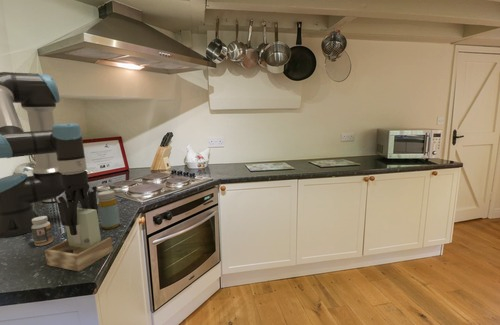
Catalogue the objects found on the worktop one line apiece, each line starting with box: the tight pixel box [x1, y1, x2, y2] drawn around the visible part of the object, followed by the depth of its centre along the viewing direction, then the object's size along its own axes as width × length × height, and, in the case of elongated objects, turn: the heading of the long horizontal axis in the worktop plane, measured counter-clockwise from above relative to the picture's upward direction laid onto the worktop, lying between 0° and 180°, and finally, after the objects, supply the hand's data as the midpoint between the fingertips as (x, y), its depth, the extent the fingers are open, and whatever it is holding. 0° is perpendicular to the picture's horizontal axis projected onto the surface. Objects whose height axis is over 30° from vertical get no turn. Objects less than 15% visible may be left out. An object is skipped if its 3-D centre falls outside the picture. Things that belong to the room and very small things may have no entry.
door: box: [65, 207, 102, 248], centre depth 91 cm, size 10×5×12 cm, turn 71°
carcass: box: [43, 236, 114, 272], centre depth 91 cm, size 14×13×5 cm
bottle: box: [97, 189, 121, 230], centre depth 116 cm, size 7×7×15 cm
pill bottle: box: [31, 215, 54, 247], centre depth 103 cm, size 6×6×10 cm
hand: (84, 239), depth 92 cm, fingers closed on door, 4 cm apart
